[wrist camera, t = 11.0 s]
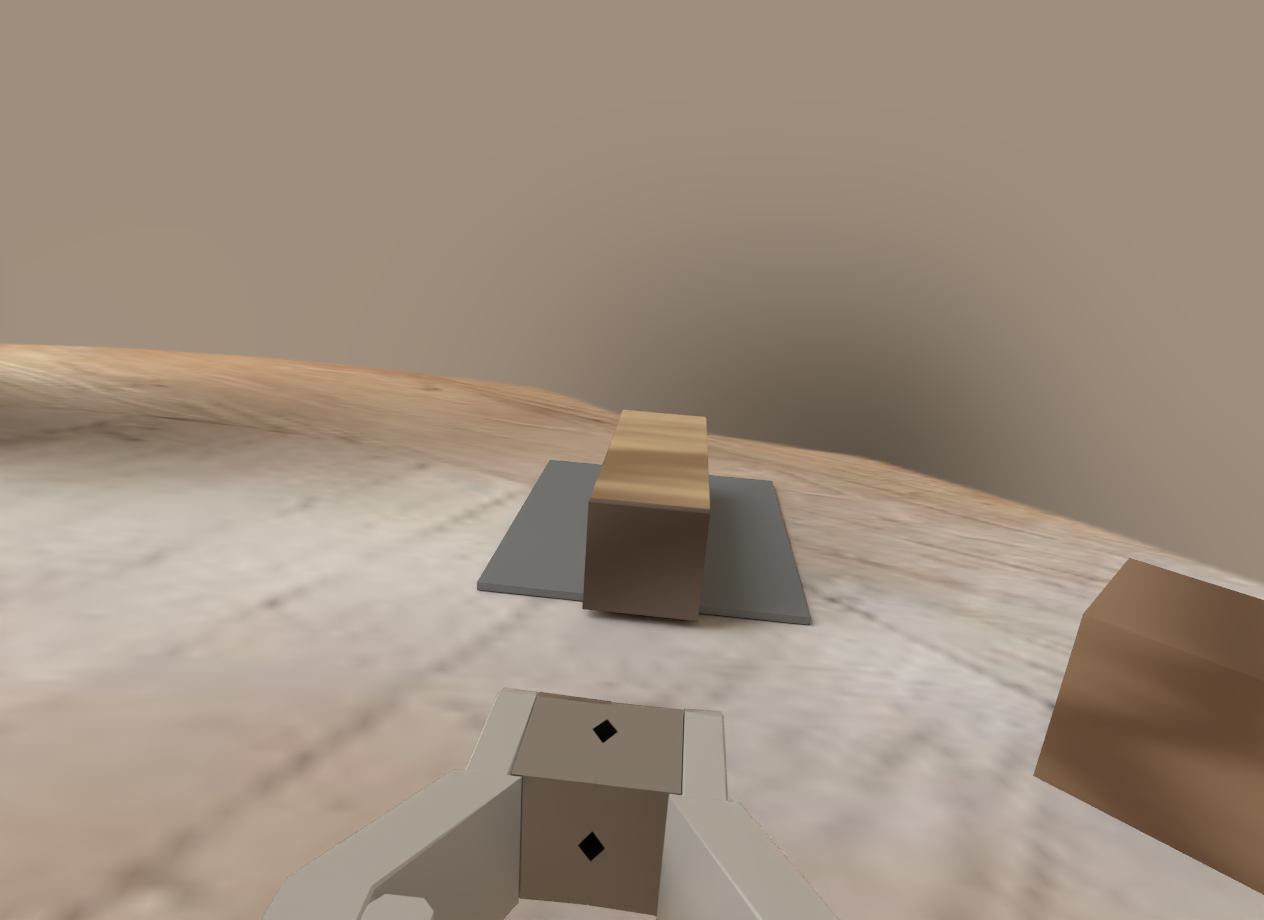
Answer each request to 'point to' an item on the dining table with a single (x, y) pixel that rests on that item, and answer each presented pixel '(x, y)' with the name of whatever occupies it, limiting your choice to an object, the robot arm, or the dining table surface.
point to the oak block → (649, 518)
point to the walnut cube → (1168, 716)
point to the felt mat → (734, 562)
